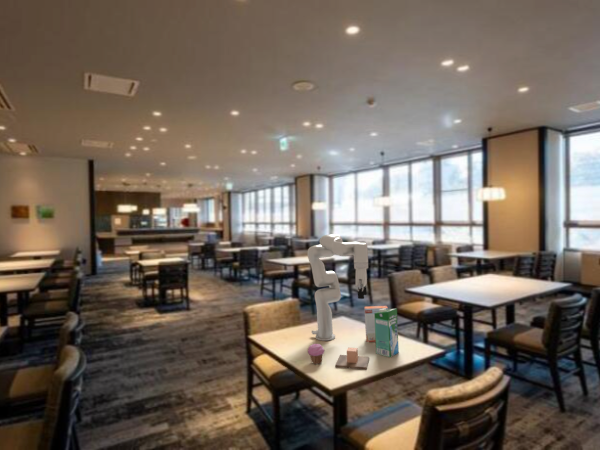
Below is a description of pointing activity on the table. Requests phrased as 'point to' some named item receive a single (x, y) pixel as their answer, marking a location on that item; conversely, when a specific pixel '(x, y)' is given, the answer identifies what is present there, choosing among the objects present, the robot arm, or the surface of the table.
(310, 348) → the cupcake
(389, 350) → the milk carton
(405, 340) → the table surface
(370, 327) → the cracker box
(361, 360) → the serving board
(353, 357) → the terracotta block
